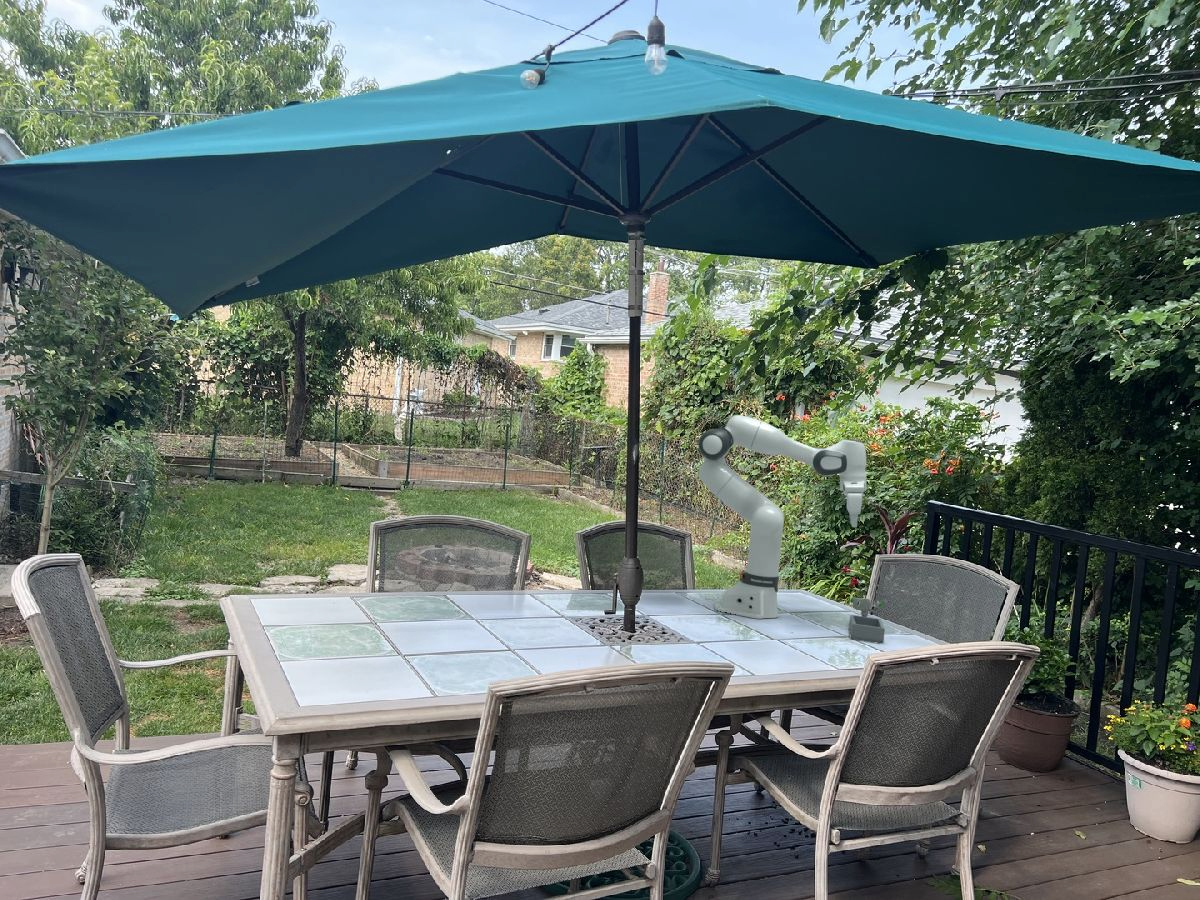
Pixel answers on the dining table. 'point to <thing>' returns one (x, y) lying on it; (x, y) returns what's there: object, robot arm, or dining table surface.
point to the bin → (866, 629)
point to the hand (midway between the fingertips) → (853, 525)
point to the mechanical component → (864, 605)
